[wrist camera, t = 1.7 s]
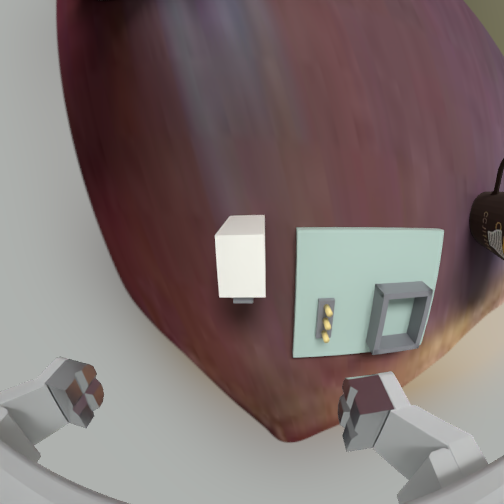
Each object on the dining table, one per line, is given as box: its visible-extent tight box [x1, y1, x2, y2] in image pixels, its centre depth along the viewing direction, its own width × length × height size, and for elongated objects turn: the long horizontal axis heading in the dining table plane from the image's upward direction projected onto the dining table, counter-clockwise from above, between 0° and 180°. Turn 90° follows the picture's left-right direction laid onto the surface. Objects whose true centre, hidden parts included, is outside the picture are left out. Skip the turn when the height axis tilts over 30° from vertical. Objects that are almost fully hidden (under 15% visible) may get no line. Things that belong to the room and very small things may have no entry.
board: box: [292, 227, 444, 358], centre depth 26 cm, size 14×16×4 cm
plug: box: [215, 215, 266, 303], centre depth 23 cm, size 5×3×8 cm, turn 2°
